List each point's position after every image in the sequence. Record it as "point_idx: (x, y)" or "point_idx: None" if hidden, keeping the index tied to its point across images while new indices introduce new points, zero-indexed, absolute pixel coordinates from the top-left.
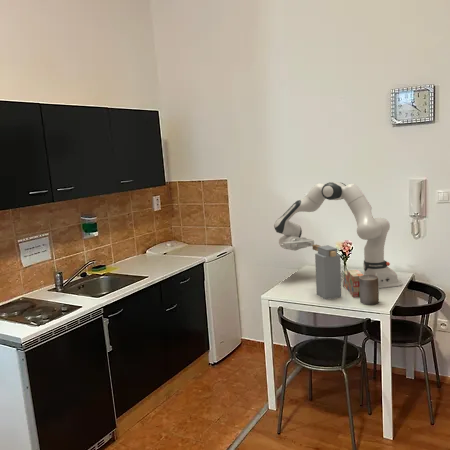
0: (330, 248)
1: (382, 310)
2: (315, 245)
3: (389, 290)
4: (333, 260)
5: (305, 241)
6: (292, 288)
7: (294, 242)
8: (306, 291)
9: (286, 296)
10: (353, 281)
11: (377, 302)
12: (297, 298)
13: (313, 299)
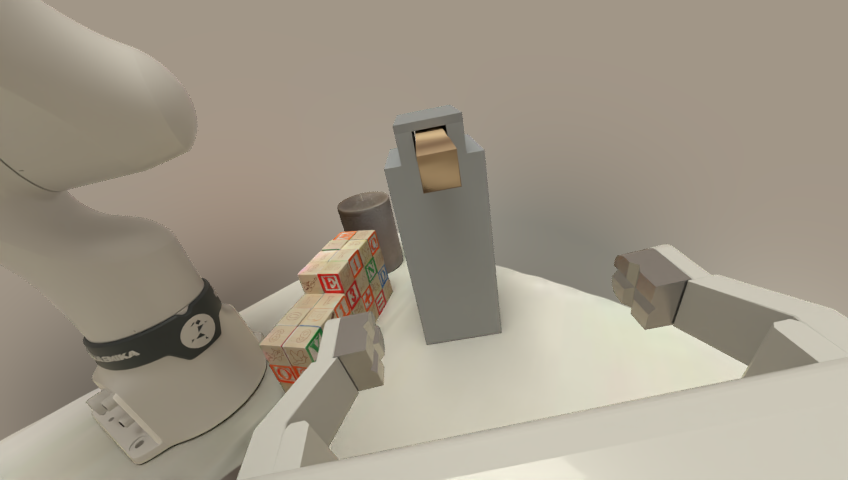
0: (420, 112)
1: None
2: (441, 144)
3: (260, 316)
4: None
5: (361, 457)
6: None
7: (781, 373)
8: (541, 381)
9: (656, 343)
10: (378, 246)
11: None
12: (593, 313)
13: (526, 296)
